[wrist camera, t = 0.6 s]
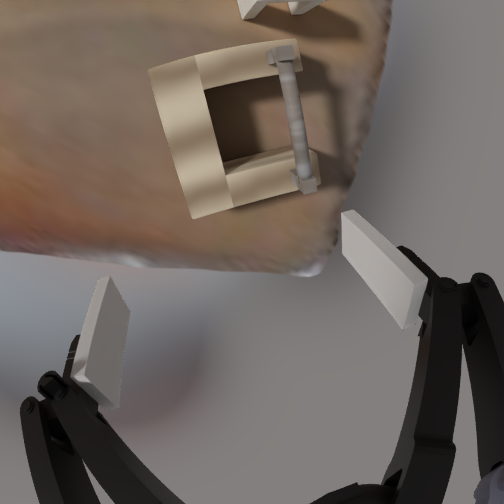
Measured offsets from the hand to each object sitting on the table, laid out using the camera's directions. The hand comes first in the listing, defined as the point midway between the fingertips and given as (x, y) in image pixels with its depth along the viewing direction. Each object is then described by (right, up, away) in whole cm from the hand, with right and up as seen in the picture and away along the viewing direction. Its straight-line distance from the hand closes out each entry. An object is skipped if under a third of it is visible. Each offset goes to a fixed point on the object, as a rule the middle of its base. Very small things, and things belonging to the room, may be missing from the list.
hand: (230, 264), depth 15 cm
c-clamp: (-1, +17, +19) cm, 25 cm away
